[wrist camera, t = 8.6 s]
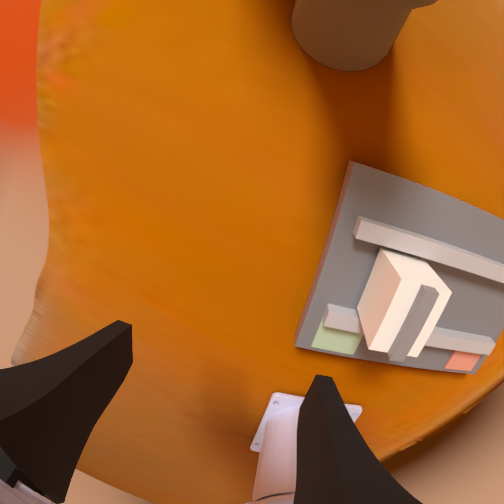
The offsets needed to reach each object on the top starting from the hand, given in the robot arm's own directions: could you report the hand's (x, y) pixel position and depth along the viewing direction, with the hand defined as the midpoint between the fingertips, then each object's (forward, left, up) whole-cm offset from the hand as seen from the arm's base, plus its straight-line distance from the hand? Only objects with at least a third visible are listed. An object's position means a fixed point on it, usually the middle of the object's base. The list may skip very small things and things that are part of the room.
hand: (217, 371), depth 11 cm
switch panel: (+2, -12, -9) cm, 15 cm away
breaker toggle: (+2, -8, -8) cm, 11 cm away
